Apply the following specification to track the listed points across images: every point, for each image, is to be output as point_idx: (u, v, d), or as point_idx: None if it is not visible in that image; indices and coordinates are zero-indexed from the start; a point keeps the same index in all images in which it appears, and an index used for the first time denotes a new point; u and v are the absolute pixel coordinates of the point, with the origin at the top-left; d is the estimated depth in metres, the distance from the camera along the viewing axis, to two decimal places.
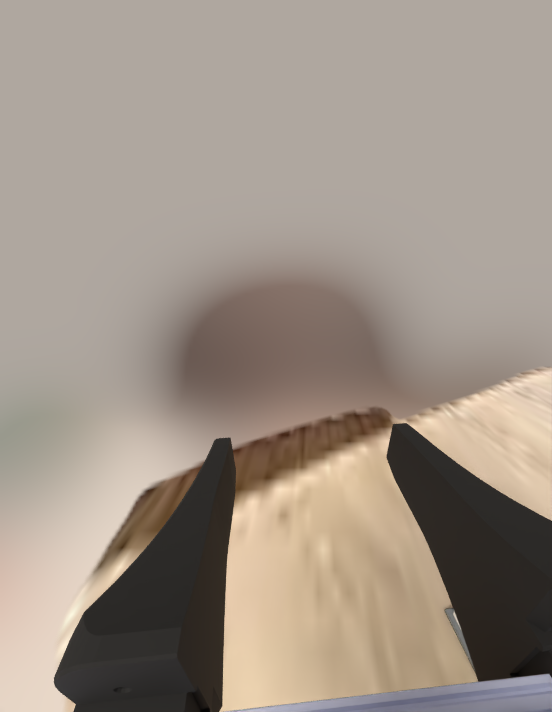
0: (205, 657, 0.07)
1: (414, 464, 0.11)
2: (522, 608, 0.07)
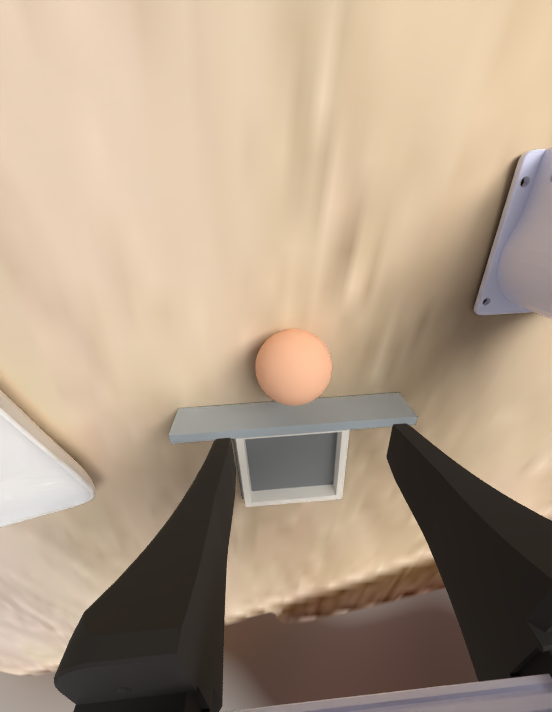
0: (205, 657, 0.07)
1: (415, 463, 0.11)
2: (522, 608, 0.07)
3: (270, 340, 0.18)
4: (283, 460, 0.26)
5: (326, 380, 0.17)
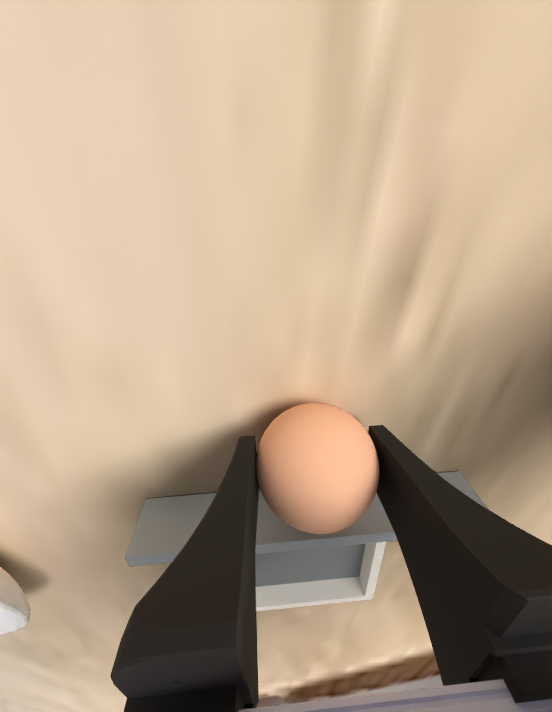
0: (248, 652, 0.07)
1: (388, 466, 0.11)
2: (478, 613, 0.07)
3: (280, 429, 0.11)
4: (294, 554, 0.19)
5: (373, 498, 0.11)
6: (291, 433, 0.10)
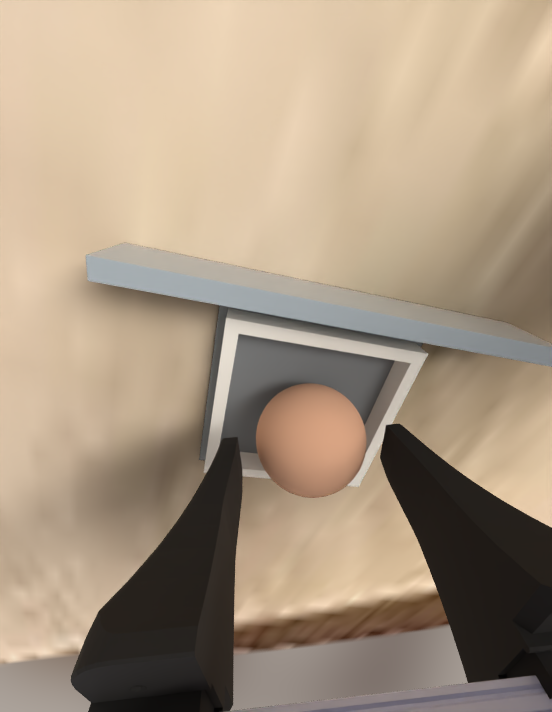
0: (218, 656, 0.07)
1: (407, 464, 0.11)
2: (509, 609, 0.07)
3: (277, 405, 0.12)
4: None
5: (361, 465, 0.12)
6: (287, 407, 0.12)
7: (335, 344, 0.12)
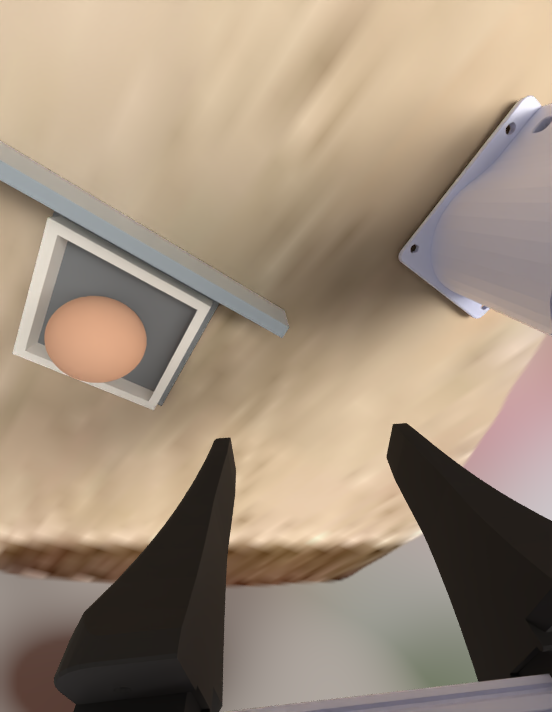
0: (205, 657, 0.07)
1: (415, 463, 0.11)
2: (522, 608, 0.07)
3: (72, 300, 0.15)
4: None
5: (121, 363, 0.16)
6: (75, 301, 0.15)
7: (138, 273, 0.16)
